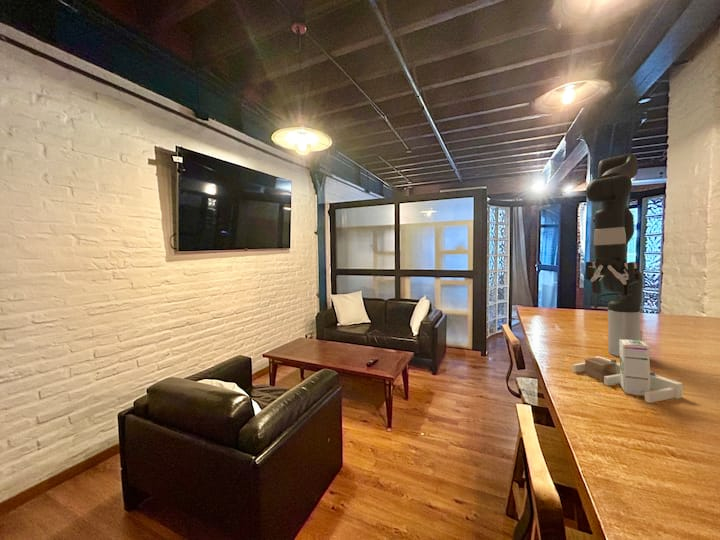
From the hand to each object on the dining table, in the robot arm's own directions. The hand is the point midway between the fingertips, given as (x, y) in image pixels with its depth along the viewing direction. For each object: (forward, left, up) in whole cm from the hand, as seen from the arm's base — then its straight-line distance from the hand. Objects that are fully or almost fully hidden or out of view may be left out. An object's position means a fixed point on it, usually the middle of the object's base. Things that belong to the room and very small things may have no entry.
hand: (610, 295), depth 92 cm
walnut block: (0, -3, -27) cm, 28 cm away
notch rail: (-1, +2, -27) cm, 27 cm away
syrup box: (+1, +7, -28) cm, 28 cm away
